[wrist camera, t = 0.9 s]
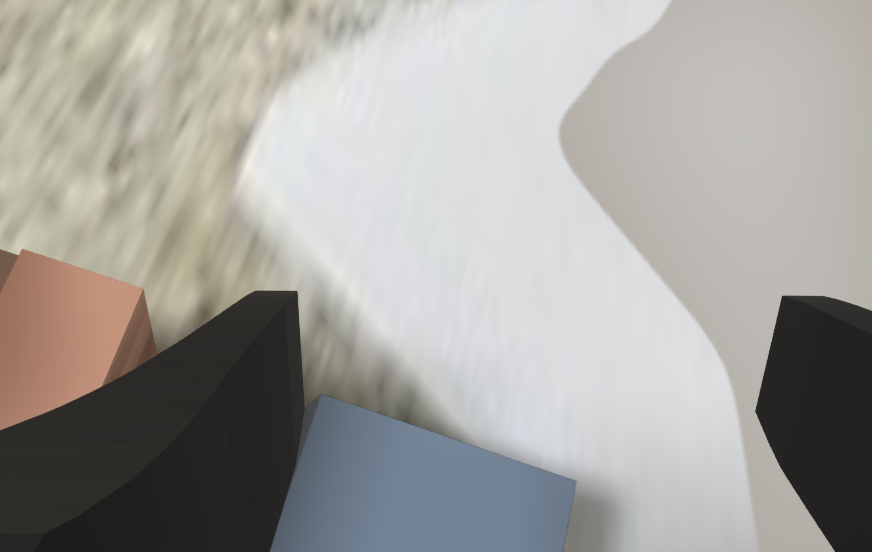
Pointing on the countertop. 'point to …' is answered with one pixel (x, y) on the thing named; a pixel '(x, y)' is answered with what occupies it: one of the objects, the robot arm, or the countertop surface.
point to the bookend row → (64, 333)
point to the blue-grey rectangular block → (412, 491)
